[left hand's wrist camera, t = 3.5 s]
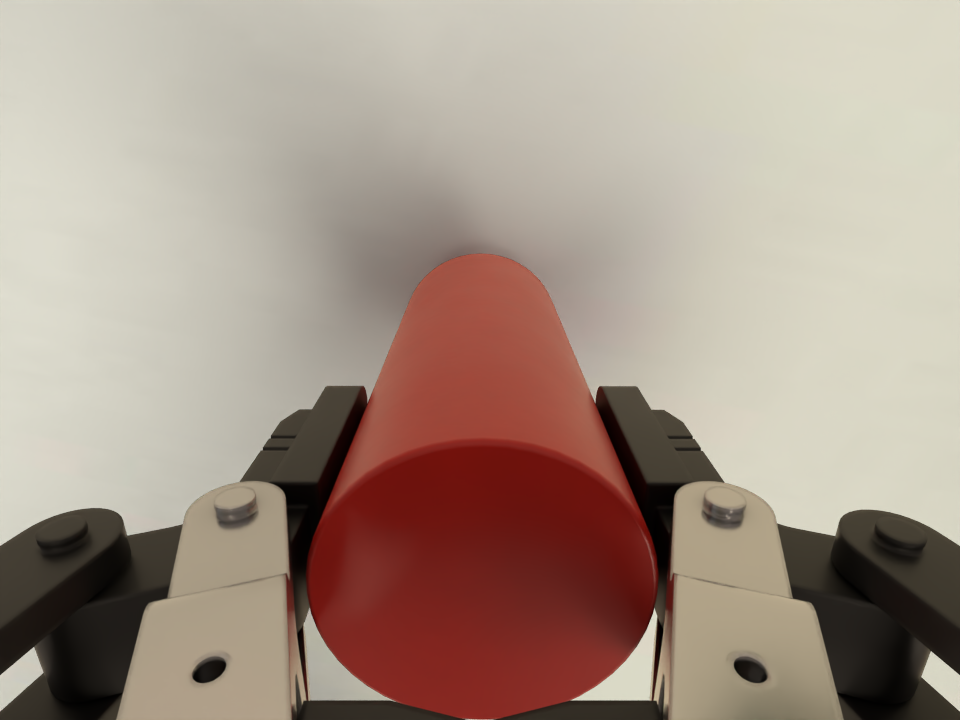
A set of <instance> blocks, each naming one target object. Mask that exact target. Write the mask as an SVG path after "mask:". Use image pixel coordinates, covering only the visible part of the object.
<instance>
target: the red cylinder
mask: <svg viewBox="0 0 960 720" xmlns="http://www.w3.org/2000/svg"><path fill="white" fill-rule="evenodd" d="M658 576H659V573H658V564H657V555H656V551H655V548H654V544H653V541H652V537H651V535H650V532H649V530H648V528H647V525H646V523H645V521H644V518H643V516H642V513H641V511H640V509H639V506H638V504H637V502H636V499H635V497H634V494H633V492H632V490H631V487H630V485H629V483H628V480H627V478H626V476H625V473H624V471H623V468H622V466H621V464H620V461H619V459H618V457H617V454H616V452H615V449H614V447H613V445H612V442H611V440H610V438H609V435H608V433H607V430H606V428H605V426H604V423H603V421H602V419H601V416H600V414H599V412H598V409H597V407H596V404H595V402H594V400H593V397H592V395H591V393H590V390H589V388H588V385H587V383H586V381H585V378H584V376H583V374H582V371H581V369H580V366H579V364H578V362H577V359H576V357H575V355H574V352H573V350H572V348H571V345H570V343H569V340H568V338H567V336H566V333H565V331H564V329H563V326H562V324H561V321H560V319H559V317H558V314H557V312H556V310H555V307H554V305H553V302H552V300H551V298H550V296H549V294H548V292H547V290H546V289H545V287H544V285H543V284H542V283H541V282H540V280H539V279H538V278H537V277H536V276H535V275H534V274H533V273H532V272H531V271H529V270H528V269H527V268H525V267H524V266H522V265H521V264H519V263H517V262H515V261H513V260H511V259H508V258H505V257H502V256H497V255H492V254H469V255H464V256H460V257H457V258H454V259H451V260H449V261H447V262H445V263H443V264H441V265H439V266H438V267H436V268H435V269H433V270H432V271H431V272H430V273H429V274H428V275H426V276H425V278H424V279H423V280H422V281H421V282H420V283H419V285H418V286H417V288H416V289H415V291H414V293H413V295H412V297H411V299H410V301H409V304H408V306H407V309H406V311H405V313H404V316H403V318H402V321H401V323H400V326H399V328H398V331H397V333H396V335H395V338H394V340H393V343H392V345H391V348H390V350H389V353H388V355H387V357H386V360H385V362H384V365H383V367H382V370H381V372H380V375H379V377H378V379H377V382H376V384H375V387H374V389H373V392H372V394H371V397H370V399H369V401H368V404H367V406H366V409H365V411H364V414H363V416H362V419H361V421H360V423H359V426H358V428H357V431H356V433H355V436H354V438H353V441H352V443H351V445H350V448H349V450H348V453H347V455H346V458H345V460H344V463H343V465H342V467H341V470H340V472H339V475H338V477H337V480H336V482H335V485H334V487H333V489H332V492H331V494H330V497H329V499H328V502H327V504H326V507H325V509H324V512H323V514H322V516H321V519H320V521H319V524H318V526H317V529H316V531H315V534H314V536H313V539H312V543H311V546H310V549H309V553H308V558H307V567H306V588H307V596H308V601H309V605H310V610H311V614H312V616H313V619H314V622H315V624H316V627H317V629H318V631H319V633H320V635H321V636H322V638H323V640H324V642H325V643H326V645H327V647H328V648H329V649H330V651H331V652H332V653H333V654H334V656H335V657H336V658H337V660H338V661H339V662H340V663H341V664H342V665H343V666H344V667H345V668H346V669H347V670H348V671H349V672H350V673H351V674H353V675H354V676H355V677H356V678H358V679H359V680H360V681H362V682H363V683H364V684H366V685H367V686H368V687H370V688H372V689H373V690H375V691H377V692H378V693H380V694H382V695H383V696H385V697H387V698H390V699H392V700H394V701H396V702H398V703H402V704H406V705H410V706H414V707H418V708H422V709H426V710H430V711H434V712H437V713H441V714H445V715H449V716H453V717H457V718H462V719H499V718H503V717H507V716H511V715H515V714H519V713H523V712H526V711H530V710H534V709H538V708H542V707H546V706H550V705H554V704H558V703H562V702H566V701H570V700H572V699H574V698H576V697H579V696H580V695H582V694H584V693H585V692H587V691H589V690H590V689H592V688H594V687H595V686H597V685H598V684H600V683H601V682H602V681H604V680H605V679H606V678H607V677H609V676H610V675H611V674H613V673H614V672H615V671H616V670H617V669H618V668H619V667H620V666H621V665H622V664H623V663H624V662H625V661H626V659H627V658H628V657H629V656H630V654H631V653H632V652H633V651H634V649H635V648H636V647H637V645H638V644H639V642H640V640H641V638H642V637H643V635H644V633H645V631H646V630H647V627H648V624H649V622H650V619H651V617H652V614H653V611H654V606H655V602H656V597H657V592H658Z"/></svg>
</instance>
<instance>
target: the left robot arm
mask: <svg viewBox="0 0 960 720" xmlns="http://www.w3.org/2000/svg"><path fill="white" fill-rule="evenodd" d="M366 406H367V394H366V390H365V387H364V386H326V387H325V389H324V391H323V392H322V394H321V396H320V397H319V399H318V401H317V402H316V404H315V406H314V407H313V409H312V410H298V411H296V412H295V413H293V414H292V415H290V416H289V417H287V418H286V419H284V420H282V421H281V422H280V423H279V425H278V426H277V428H276V429H275V431H274V432H273V434H272V435H271V439H269V440H268V441H267V442H266V444H265V445H264V447H263V451H260V453H259V454H258V456H257V457H256V459H255V460H254V462H253V463H252V465H251V466H250V467H249V469H248V470H247V472H246V473H245V475H244V476H243V478H242V479H241V481H240V482H238V483H233V484H229V485H225V486H222V487H219V488H217V489H214V490H212V491H210V492H208V493H206V494H205V495H203V496H201V497H200V498H199V499H197V500H196V501H195V502H194V503H193V504H192V505H191V506H190V507H189V508H188V510H187V511H186V514H185V517H184V522H183V524H182V525H179V526H174V527H170V528H165V529H160V530H155V531H150V532H145V533H139V534H134V535H129V536H127V534H126V530H125V526H124V522H123V519H122V517H121V516H120V515H119V514H118V513H116V512H114V511H112V510H108V509H102V508H89V509H80V510H75V511H70V512H66V513H63V514H59V515H56V516H53V517H51V518H48V519H46V520H43V521H41V522H39V523H37V524H35V525H33V526H31V527H30V528H28V529H26V530H25V531H23V532H21V533H20V534H18V535H17V536H15V537H14V538H12V539H11V540H9V541H7V542H6V543H4V544H3V545H1V546H0V675H1V674H2V673H3V672H4V671H6V670H7V669H8V668H9V667H10V666H11V665H13V664H14V663H15V662H16V661H17V660H19V659H20V658H21V657H22V656H23V655H25V654H26V653H27V652H28V651H29V650H31V649H32V648H33V647H34V648H35V650H36V653H37V656H38V658H39V661H40V664H41V667H42V669H43V672H44V673H43V674H42V675H41V676H40V677H39V678H37V679H36V680H35V681H34V682H33V683H32V684H31V685H30V686H28V687H27V688H26V689H25V690H24V691H23V692H22V693H21V694H20V695H18V696H17V697H16V698H15V699H14V700H13V701H12V702H11V703H9V704H8V705H7V706H6V707H5V708H4V709H3V710H2V711H0V720H465V719H461V718H457V717H453V716H449V715H445V714H441V713H437V712H434V711H430V710H426V709H422V708H418V707H414V706H410V705H406V704H402V703H398V702H394V701H310V688H309V675H308V662H307V649H306V637H305V630H304V622H305V619H306V616H307V613H308V611H309V608H310V605H309V601H308V596H307V588H306V567H307V558H308V553H309V549H310V546H311V543H312V539H313V536H314V534H315V531H316V529H317V526H318V524H319V521H320V519H321V516H322V514H323V512H324V509H325V507H326V504H327V502H328V499H329V497H330V494H331V492H332V489H333V487H334V485H335V482H336V480H337V477H338V475H339V472H340V470H341V467H342V465H343V463H344V460H345V458H346V455H347V453H348V450H349V448H350V445H351V443H352V441H353V438H354V436H355V433H356V431H357V428H358V426H359V423H360V421H361V419H362V416H363V414H364V411H365V409H366ZM596 407H597V409H598V412H599V414H600V416H601V419H602V421H603V423H604V426H605V428H606V430H607V433H608V435H609V438H610V440H611V442H612V445H613V447H614V449H615V452H616V454H617V457H618V459H619V461H620V464H621V466H622V468H623V471H624V473H625V476H626V478H627V480H628V483H629V485H630V487H631V490H632V492H633V494H634V497H635V499H636V502H637V504H638V506H639V509H640V511H641V513H642V516H643V518H644V521H645V523H646V525H647V528H648V530H649V532H650V535H651V537H652V541H653V544H654V548H655V551H656V555H657V564H658V573H659V576H658V592H657V597H656V602H655V606H654V608H655V611H656V613H657V623H656V630H655V637H654V649H653V662H652V675H651V688H650V701H566V702H562V703H558V704H554V705H550V706H546V707H542V708H538V709H534V710H530V711H526V712H523V713H519V714H515V715H511V716H507V717H503V718H499V719H495V720H960V711H958V710H957V709H956V708H955V707H954V706H953V705H952V704H951V703H949V702H948V701H947V700H946V699H945V698H944V697H943V696H942V695H941V694H939V693H938V692H937V691H936V690H935V689H934V688H933V687H932V686H930V685H929V684H928V683H927V682H926V681H925V680H924V679H923V678H921V676H922V673H923V670H924V668H925V665H926V662H927V660H928V657H929V654H930V652H931V651H932V652H933V653H934V654H935V655H937V656H938V657H939V658H940V659H941V660H943V661H944V662H945V663H946V664H947V665H949V666H950V667H951V668H952V669H953V670H954V671H956V672H957V673H958V674H959V675H960V546H959V545H957V544H956V543H954V542H953V541H951V540H949V539H948V538H946V537H945V536H943V535H942V534H940V533H939V532H937V531H935V530H933V529H932V528H930V527H928V526H926V525H924V524H922V523H920V522H918V521H915V520H913V519H910V518H907V517H904V516H901V515H898V514H894V513H890V512H885V511H878V510H857V511H852V512H849V513H847V514H845V515H844V516H843V517H842V518H841V519H840V522H839V525H838V529H837V532H836V536H831V535H826V534H821V533H816V532H811V531H806V530H801V529H795V528H791V527H787V526H783V525H780V524H777V522H776V517H775V514H774V511H773V510H772V508H771V507H770V506H769V505H768V504H767V503H766V502H765V501H764V500H763V499H761V498H760V497H759V496H757V495H755V494H754V493H752V492H750V491H748V490H746V489H743V488H741V487H738V486H735V485H731V484H727V483H724V481H723V480H722V478H721V477H720V475H719V474H718V472H717V471H716V469H715V468H714V467H713V465H712V464H711V462H710V461H709V459H708V458H707V456H706V455H705V454H704V452H703V451H701V448H700V446H699V445H698V443H697V442H696V441H695V439H693V436H692V435H691V433H690V432H689V430H688V429H687V427H686V426H685V425H684V423H683V422H682V421H680V420H679V419H677V418H676V417H674V416H672V415H671V414H669V413H668V412H666V411H665V410H651V409H650V407H649V405H648V404H647V402H646V400H645V399H644V397H643V395H642V394H641V392H640V390H639V389H638V388H637V387H636V386H600V387H599V388H598V391H597V395H596Z"/></svg>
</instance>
